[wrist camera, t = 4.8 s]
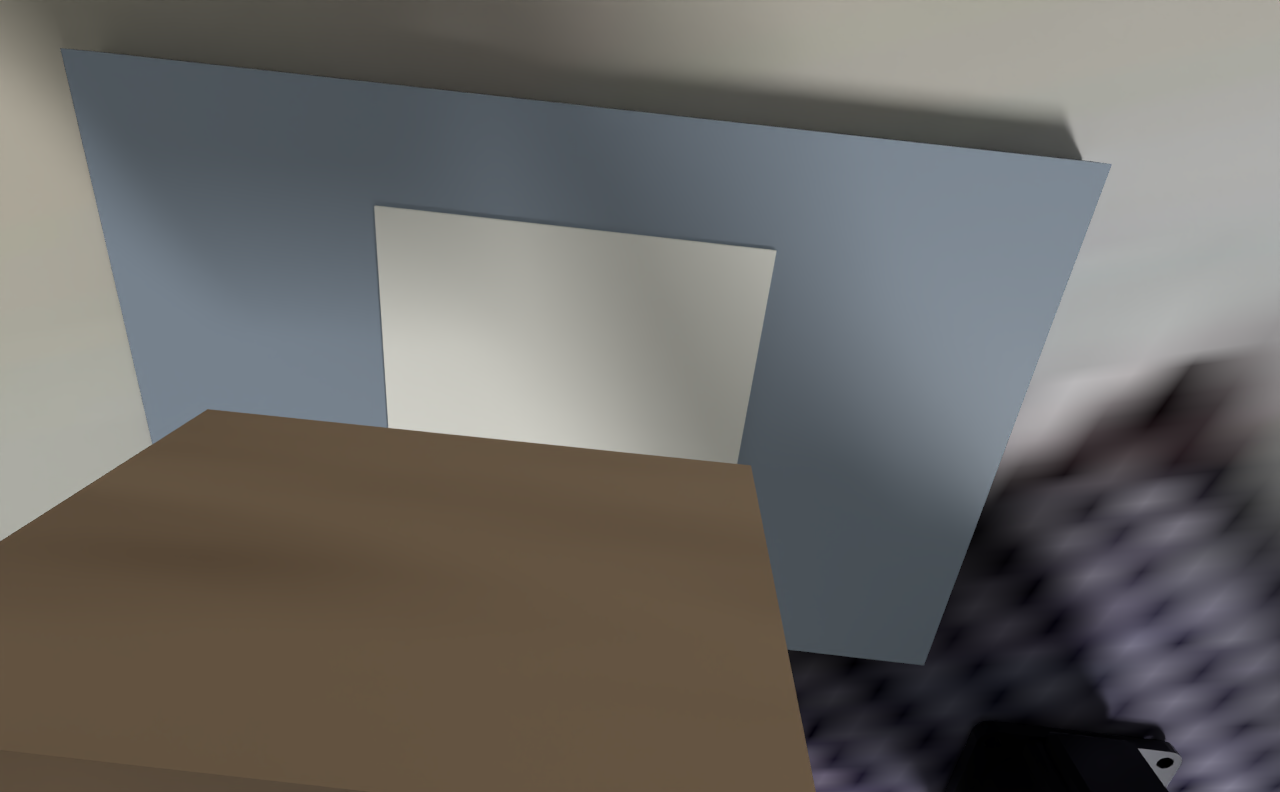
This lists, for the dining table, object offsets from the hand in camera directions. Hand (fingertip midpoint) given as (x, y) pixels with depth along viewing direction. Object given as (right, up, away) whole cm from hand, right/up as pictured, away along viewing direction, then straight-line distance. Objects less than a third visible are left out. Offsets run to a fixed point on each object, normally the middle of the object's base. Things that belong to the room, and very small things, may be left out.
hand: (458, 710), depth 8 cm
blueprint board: (0, +4, +9) cm, 10 cm away
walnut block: (0, 0, +1) cm, 1 cm away
